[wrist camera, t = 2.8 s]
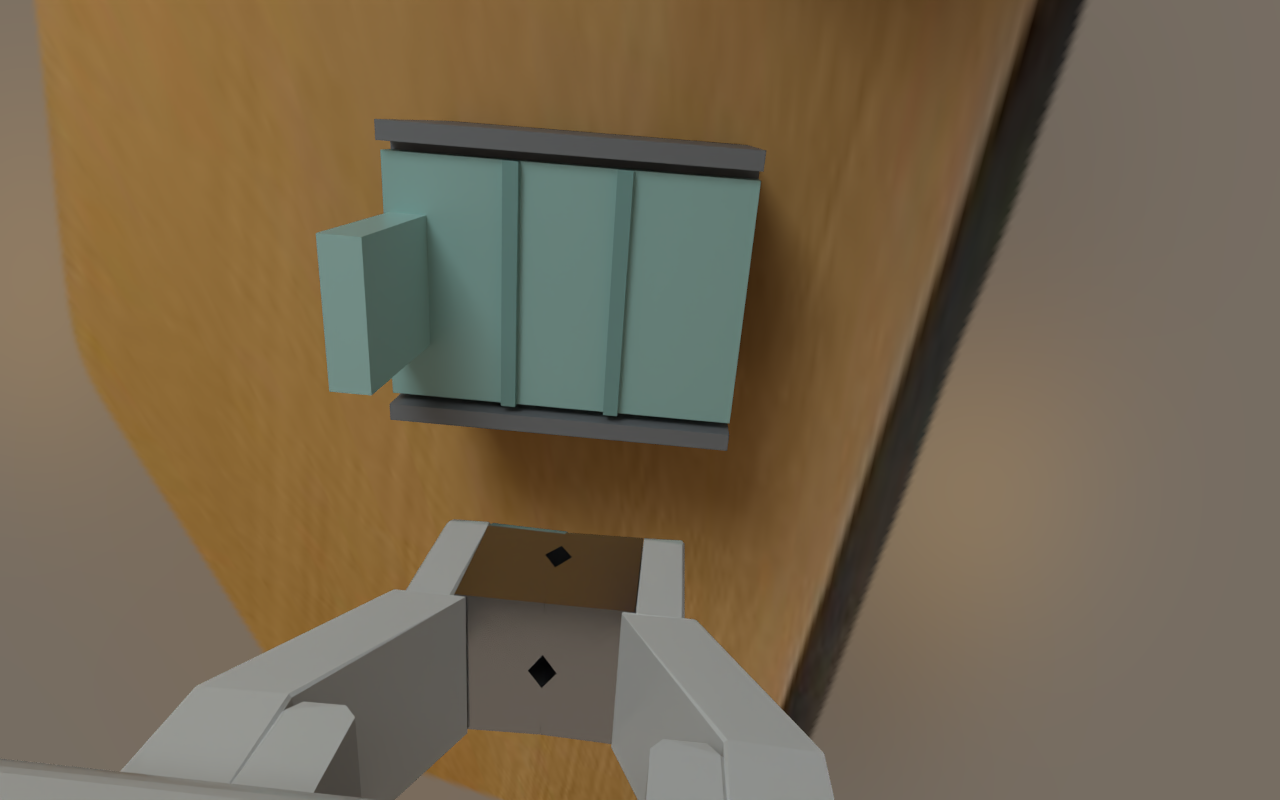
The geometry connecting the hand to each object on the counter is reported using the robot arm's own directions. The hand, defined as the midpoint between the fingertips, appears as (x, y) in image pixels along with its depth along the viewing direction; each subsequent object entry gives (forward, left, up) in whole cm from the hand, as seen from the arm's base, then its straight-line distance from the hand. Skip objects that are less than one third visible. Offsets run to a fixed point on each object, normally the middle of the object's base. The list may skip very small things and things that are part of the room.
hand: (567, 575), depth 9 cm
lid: (0, -3, -16) cm, 17 cm away
